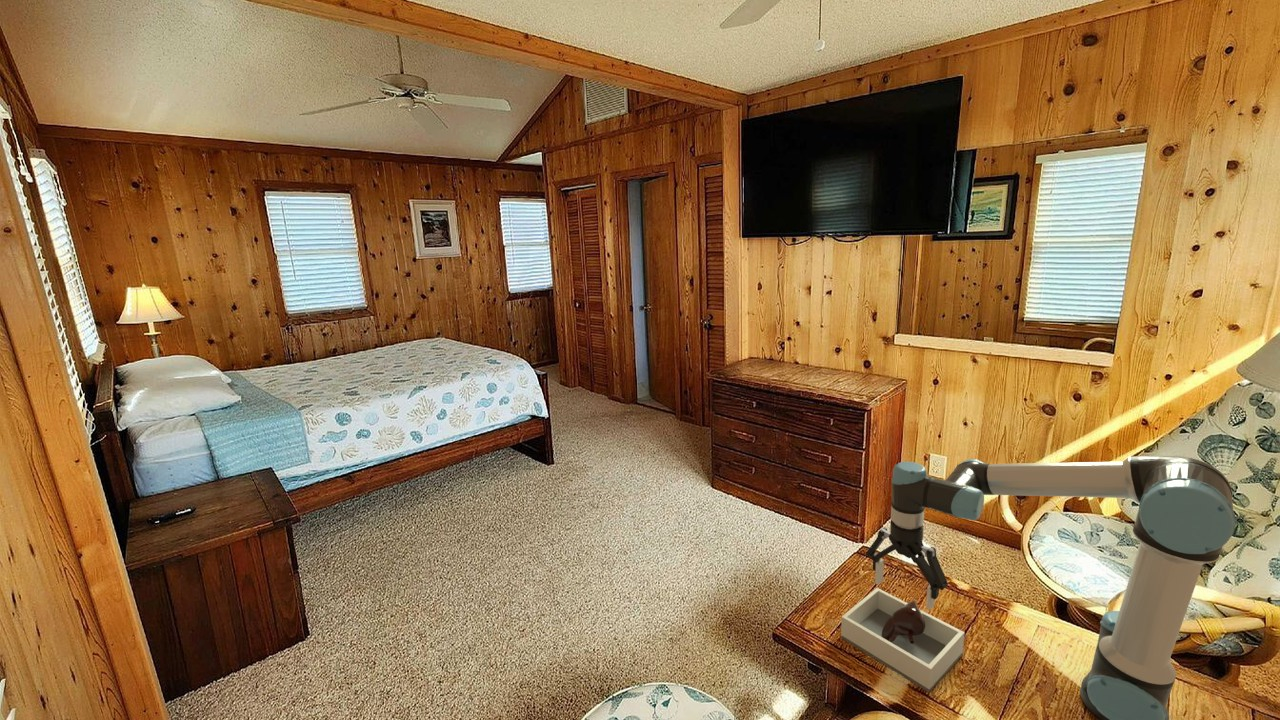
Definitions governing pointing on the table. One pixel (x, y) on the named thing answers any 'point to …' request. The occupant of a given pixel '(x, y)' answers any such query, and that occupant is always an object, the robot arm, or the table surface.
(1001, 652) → the table surface
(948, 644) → the open box
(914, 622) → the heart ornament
